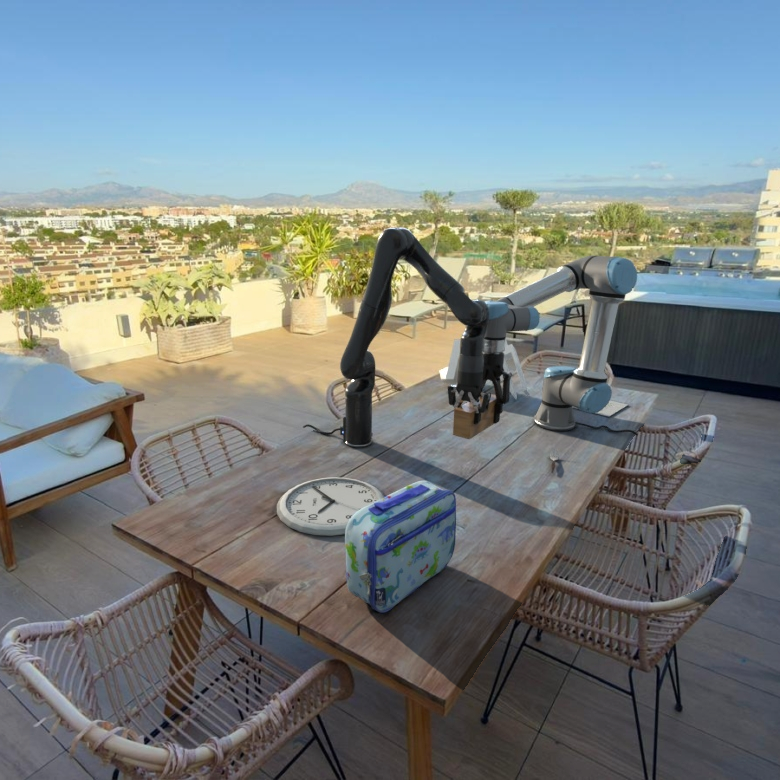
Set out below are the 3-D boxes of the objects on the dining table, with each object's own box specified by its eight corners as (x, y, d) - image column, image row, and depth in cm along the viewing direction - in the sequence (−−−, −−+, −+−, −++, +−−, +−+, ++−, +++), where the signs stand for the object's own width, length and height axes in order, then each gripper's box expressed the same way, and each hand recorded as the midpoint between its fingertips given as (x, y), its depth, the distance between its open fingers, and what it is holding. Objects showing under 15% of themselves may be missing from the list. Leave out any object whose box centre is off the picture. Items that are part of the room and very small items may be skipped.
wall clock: (392, 527, 129) (268, 531, 127) (391, 533, 130) (269, 537, 127) (383, 473, 158) (282, 475, 155) (383, 478, 158) (282, 480, 156)
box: (483, 416, 176) (485, 392, 174) (499, 420, 173) (501, 396, 170) (452, 435, 161) (454, 409, 158) (469, 439, 157) (471, 413, 155)
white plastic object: (461, 429, 252) (437, 405, 227) (444, 352, 274) (420, 323, 250) (535, 404, 240) (518, 377, 215) (510, 326, 262) (492, 293, 237)
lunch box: (374, 626, 100) (375, 530, 93) (338, 598, 107) (337, 508, 101) (459, 568, 117) (465, 484, 111) (424, 547, 124) (427, 467, 118)
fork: (547, 473, 163) (548, 467, 163) (550, 454, 177) (551, 448, 177) (556, 475, 162) (556, 469, 162) (558, 455, 177) (559, 449, 176)
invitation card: (608, 416, 214) (573, 407, 224) (608, 416, 214) (573, 408, 224) (628, 404, 229) (594, 396, 238) (628, 405, 229) (594, 397, 238)
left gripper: (443, 366, 156) (440, 419, 161) (486, 375, 148) (482, 430, 153) (455, 362, 162) (452, 413, 167) (498, 369, 154) (494, 423, 159)
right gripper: (460, 349, 168) (456, 416, 175) (515, 358, 157) (508, 430, 164) (471, 345, 173) (467, 411, 180) (525, 353, 163) (518, 423, 170)
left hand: (467, 421), depth 160 cm, fingers closed on box, 5 cm apart
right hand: (487, 420), depth 172 cm, fingers closed on box, 6 cm apart
